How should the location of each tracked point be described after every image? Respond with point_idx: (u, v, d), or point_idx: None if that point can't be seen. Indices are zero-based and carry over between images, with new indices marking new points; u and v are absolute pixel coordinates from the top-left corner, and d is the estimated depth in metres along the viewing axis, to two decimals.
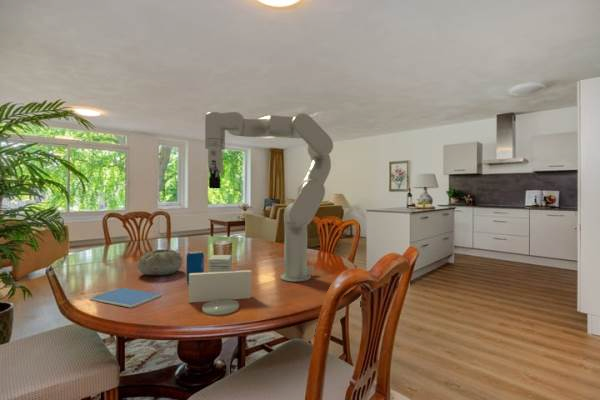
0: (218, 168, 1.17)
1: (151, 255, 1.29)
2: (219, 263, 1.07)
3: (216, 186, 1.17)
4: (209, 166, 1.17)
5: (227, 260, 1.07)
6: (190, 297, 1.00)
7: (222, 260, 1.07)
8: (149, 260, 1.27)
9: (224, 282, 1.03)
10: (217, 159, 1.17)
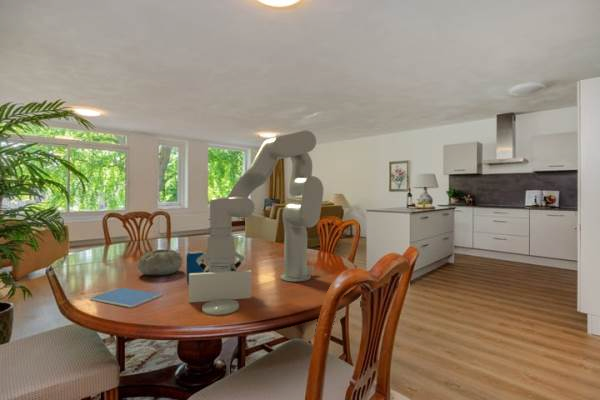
0: None
1: (151, 255, 1.29)
2: (219, 263, 1.07)
3: None
4: None
5: (227, 260, 1.07)
6: (190, 297, 1.00)
7: (222, 260, 1.07)
8: (149, 260, 1.27)
9: (224, 282, 1.03)
10: None
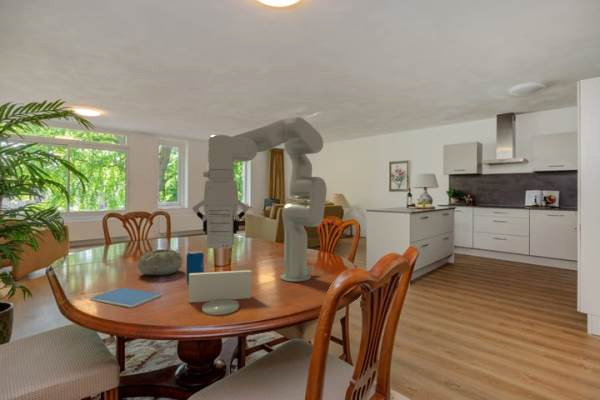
0: None
1: (151, 255, 1.29)
2: (219, 211, 0.91)
3: (205, 232, 0.93)
4: None
5: (229, 207, 0.91)
6: (190, 297, 1.00)
7: (223, 207, 0.91)
8: (149, 260, 1.27)
9: (224, 282, 1.03)
10: None
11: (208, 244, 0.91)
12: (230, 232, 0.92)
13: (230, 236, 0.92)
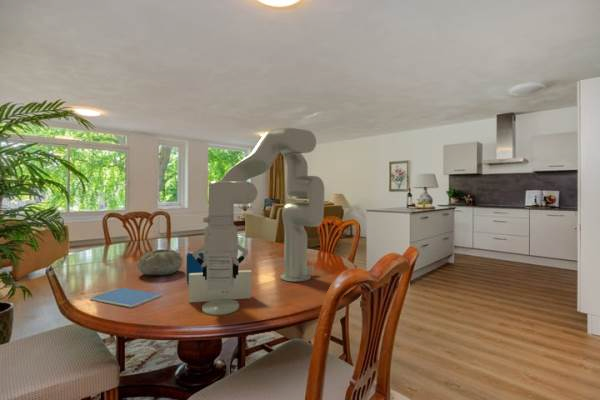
0: (203, 254, 0.92)
1: (151, 255, 1.29)
2: (219, 257, 0.91)
3: (205, 277, 0.93)
4: None
5: (229, 254, 0.92)
6: (190, 297, 1.00)
7: (223, 254, 0.92)
8: (149, 260, 1.27)
9: None
10: None
11: (208, 290, 0.92)
12: (230, 278, 0.92)
13: (230, 282, 0.92)
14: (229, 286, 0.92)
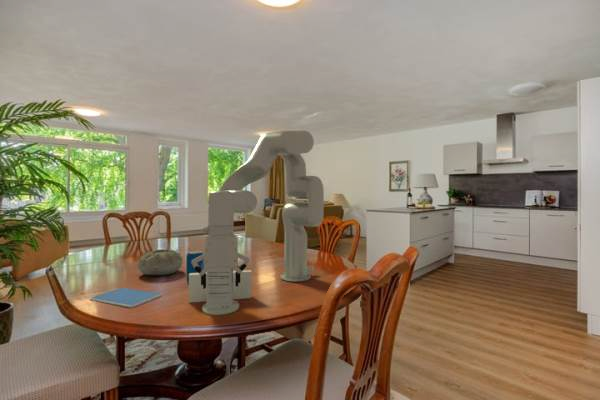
0: None
1: (151, 255, 1.29)
2: (219, 272, 0.92)
3: (203, 286, 0.93)
4: None
5: (228, 269, 0.92)
6: (190, 297, 1.00)
7: (222, 269, 0.92)
8: (149, 260, 1.27)
9: None
10: None
11: (208, 306, 0.92)
12: (229, 293, 0.92)
13: (229, 297, 0.92)
14: (229, 301, 0.92)
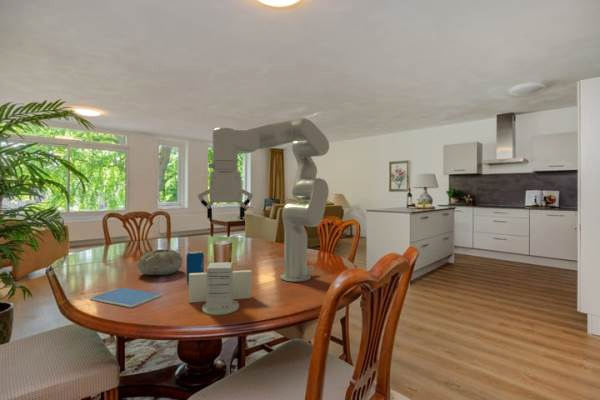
0: None
1: (151, 255, 1.29)
2: (219, 272, 0.92)
3: None
4: None
5: (228, 269, 0.92)
6: (190, 297, 1.00)
7: (222, 269, 0.92)
8: (149, 260, 1.27)
9: None
10: None
11: (208, 306, 0.92)
12: (229, 293, 0.92)
13: (229, 297, 0.92)
14: (229, 301, 0.92)
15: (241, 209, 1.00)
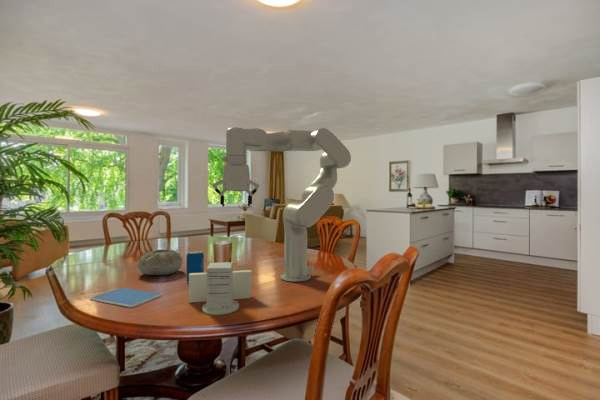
0: (222, 186, 1.14)
1: (151, 255, 1.29)
2: (219, 273, 0.92)
3: (222, 204, 1.15)
4: None
5: (228, 269, 0.92)
6: (190, 297, 1.00)
7: (222, 269, 0.92)
8: (149, 260, 1.27)
9: None
10: None
11: (208, 306, 0.92)
12: (229, 293, 0.92)
13: (229, 297, 0.92)
14: (229, 301, 0.92)
15: (249, 197, 1.17)
